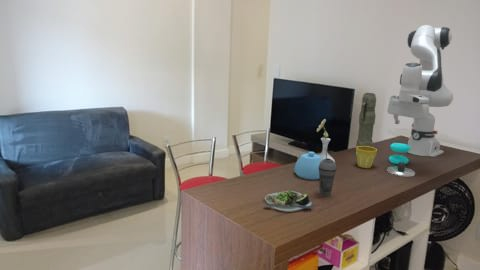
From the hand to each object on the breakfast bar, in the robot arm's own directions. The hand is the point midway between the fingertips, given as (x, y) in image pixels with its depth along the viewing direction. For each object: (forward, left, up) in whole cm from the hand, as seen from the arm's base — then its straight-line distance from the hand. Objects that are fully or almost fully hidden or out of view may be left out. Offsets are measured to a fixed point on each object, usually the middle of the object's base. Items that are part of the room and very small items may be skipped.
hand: (405, 125), depth 178 cm
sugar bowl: (+44, -17, -24) cm, 53 cm away
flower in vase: (+27, -26, -24) cm, 45 cm away
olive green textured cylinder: (-11, -33, -24) cm, 42 cm away
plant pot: (+9, -14, -24) cm, 29 cm away
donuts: (-13, -10, -24) cm, 29 cm away
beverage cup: (+54, +4, -24) cm, 59 cm away
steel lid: (0, +1, -24) cm, 24 cm away
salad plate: (+73, +4, -24) cm, 77 cm away
